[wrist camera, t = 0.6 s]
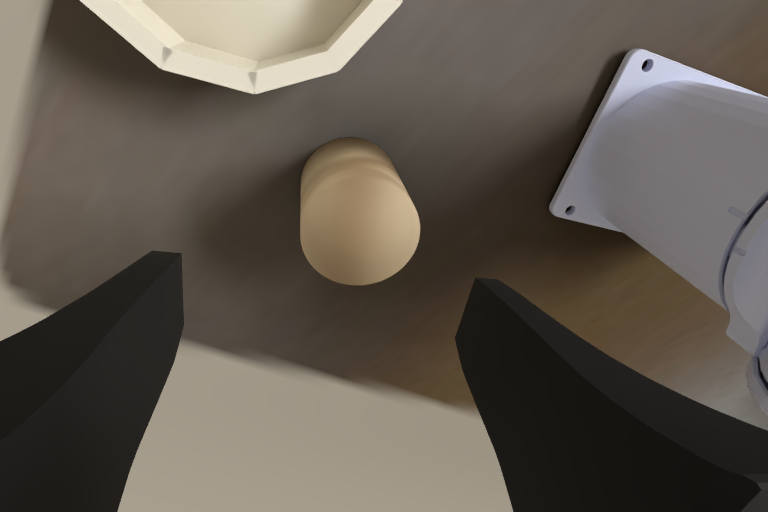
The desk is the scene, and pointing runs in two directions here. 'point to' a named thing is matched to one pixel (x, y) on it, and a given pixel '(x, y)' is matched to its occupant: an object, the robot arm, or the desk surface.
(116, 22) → the bowl
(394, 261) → the tan wooden cylinder
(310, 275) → the desk surface
